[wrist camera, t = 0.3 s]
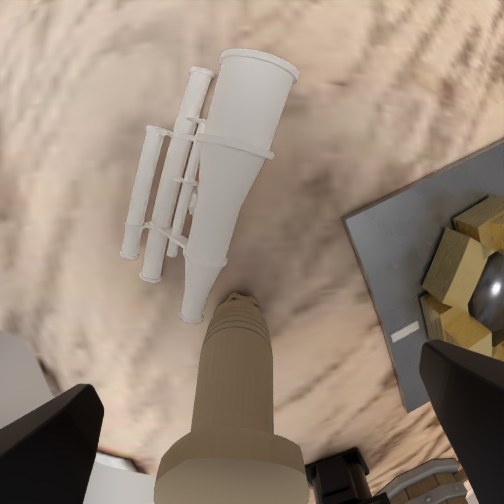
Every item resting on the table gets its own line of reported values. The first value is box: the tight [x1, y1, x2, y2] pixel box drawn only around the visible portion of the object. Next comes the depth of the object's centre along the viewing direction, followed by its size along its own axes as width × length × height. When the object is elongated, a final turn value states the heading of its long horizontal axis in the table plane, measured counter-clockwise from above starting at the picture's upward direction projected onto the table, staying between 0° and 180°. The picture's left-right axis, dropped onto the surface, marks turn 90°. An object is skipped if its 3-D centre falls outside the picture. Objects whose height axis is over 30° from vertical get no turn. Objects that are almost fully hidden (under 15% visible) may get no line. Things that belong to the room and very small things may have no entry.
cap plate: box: [341, 138, 504, 413], centre depth 20 cm, size 20×20×4 cm
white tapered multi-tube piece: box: [119, 48, 300, 324], centre depth 17 cm, size 8×14×5 cm
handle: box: [154, 293, 309, 504], centre depth 15 cm, size 5×6×15 cm
